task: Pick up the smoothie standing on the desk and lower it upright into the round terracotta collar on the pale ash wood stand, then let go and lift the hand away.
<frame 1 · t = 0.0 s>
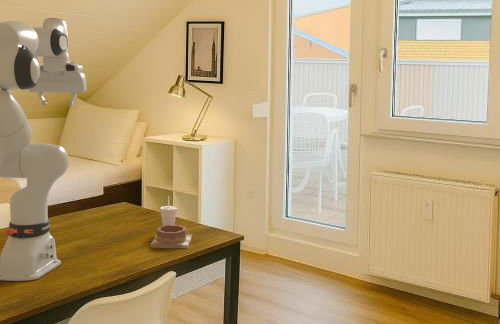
hand: (57, 105, 218), 48 cm above the table, tool pointing down, fingers open, 8 cm apart
smoothie: (168, 233, 233), on the table
bottle stand: (171, 242, 221), on the table
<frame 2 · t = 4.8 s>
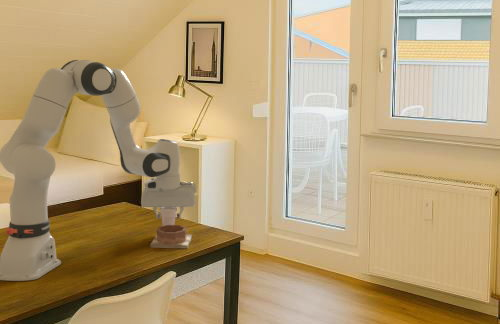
hand: (168, 218, 232), 6 cm above the table, tool pointing down, fingers closed on smoothie, 6 cm apart
smoothie: (168, 233, 233), on the table, touching gripper
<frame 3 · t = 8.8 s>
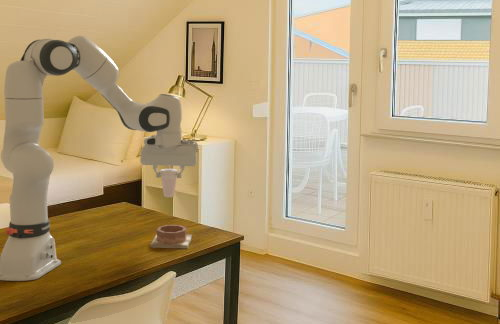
hand: (168, 177, 223), 23 cm above the table, tool pointing down, fingers closed on smoothie, 6 cm apart
smoothie: (168, 196, 224), point 15 cm above the table, touching gripper
when the fingers open (8 cm above the table, at t = 12.9 s): smoothie stays where it is, resting on bottle stand.
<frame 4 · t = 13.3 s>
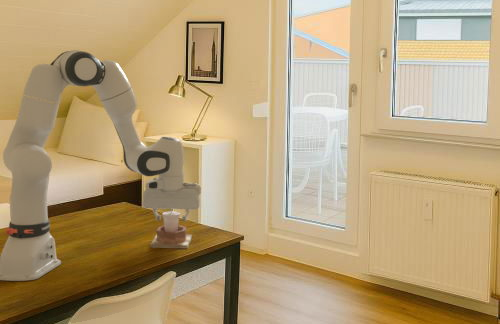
hand: (171, 220, 220), 8 cm above the table, tool pointing down, fingers open, 8 cm apart
smoothie: (171, 240, 221), point 1 cm above the table, touching bottle stand
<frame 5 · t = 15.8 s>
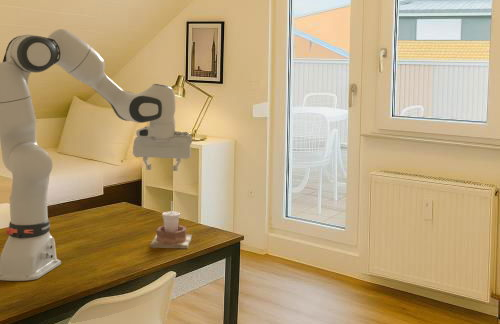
hand: (162, 170, 217), 26 cm above the table, tool pointing down, fingers open, 8 cm apart
nothing on the table moved.
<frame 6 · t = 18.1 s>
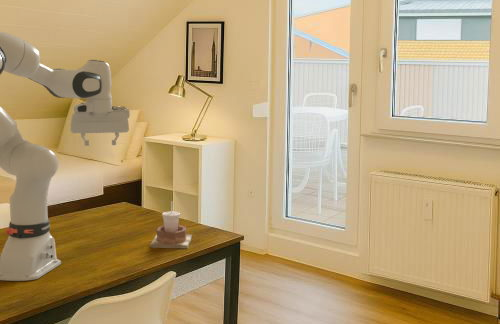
hand: (100, 145, 220), 34 cm above the table, tool pointing down, fingers open, 8 cm apart
nothing on the table moved.
at the end: smoothie 0.2 cm off-centre on the bottle stand, point 0.8 cm above the bottle stand's base; smoothie tilted 0°; the gripper is holding nothing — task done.
